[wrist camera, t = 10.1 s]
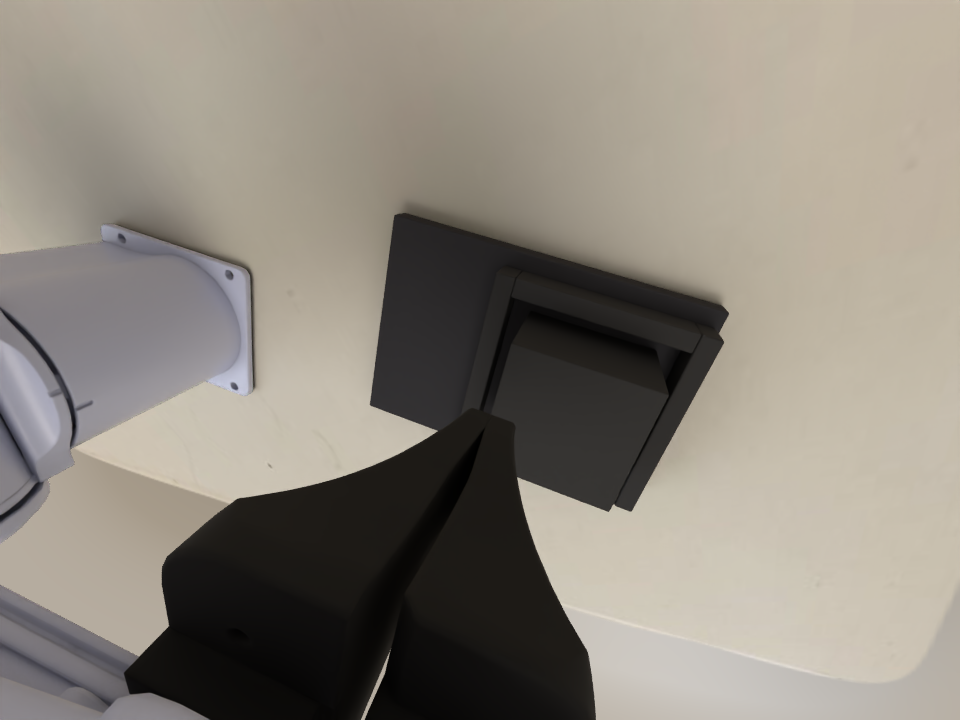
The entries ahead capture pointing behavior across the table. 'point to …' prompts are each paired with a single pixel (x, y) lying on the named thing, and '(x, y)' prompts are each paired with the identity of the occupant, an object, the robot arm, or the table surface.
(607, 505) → the black square block
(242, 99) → the table surface
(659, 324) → the base pad
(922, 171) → the table surface
